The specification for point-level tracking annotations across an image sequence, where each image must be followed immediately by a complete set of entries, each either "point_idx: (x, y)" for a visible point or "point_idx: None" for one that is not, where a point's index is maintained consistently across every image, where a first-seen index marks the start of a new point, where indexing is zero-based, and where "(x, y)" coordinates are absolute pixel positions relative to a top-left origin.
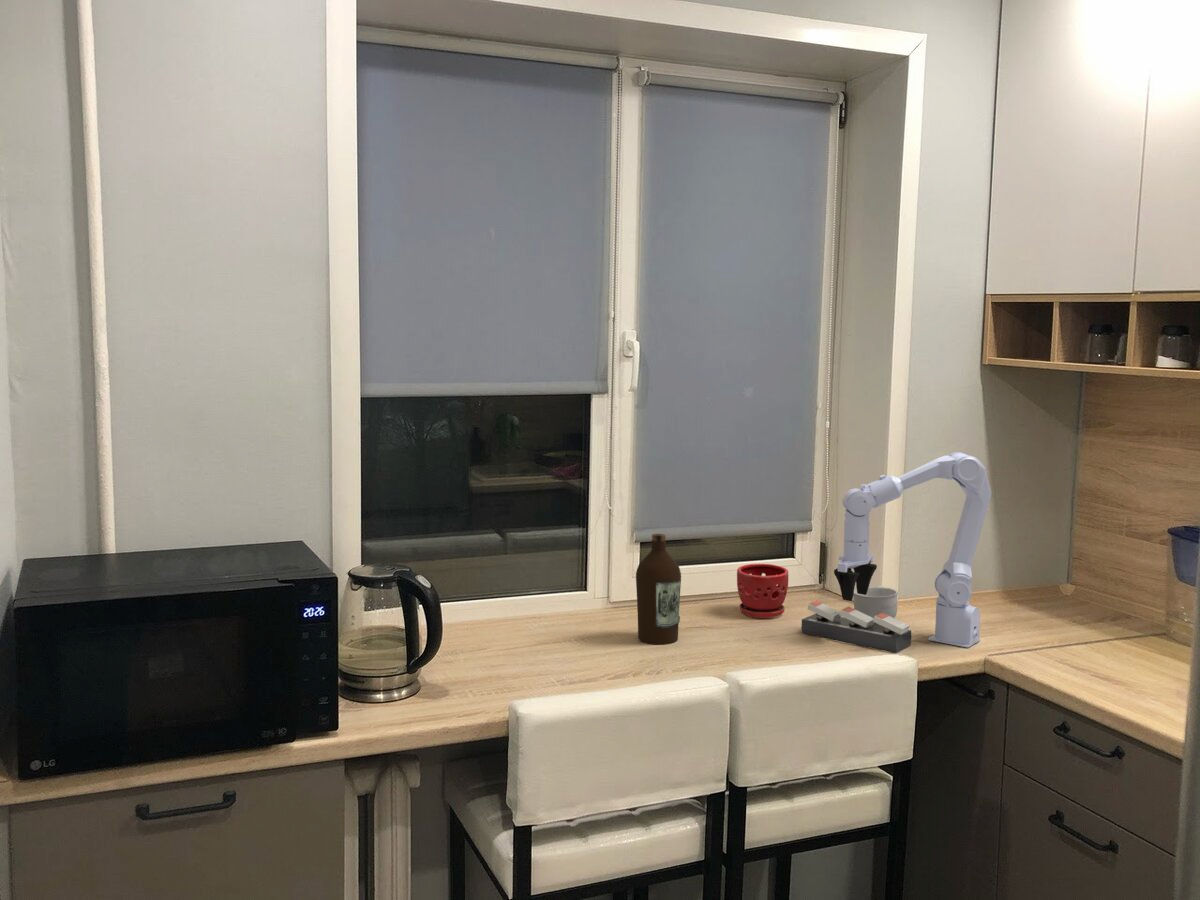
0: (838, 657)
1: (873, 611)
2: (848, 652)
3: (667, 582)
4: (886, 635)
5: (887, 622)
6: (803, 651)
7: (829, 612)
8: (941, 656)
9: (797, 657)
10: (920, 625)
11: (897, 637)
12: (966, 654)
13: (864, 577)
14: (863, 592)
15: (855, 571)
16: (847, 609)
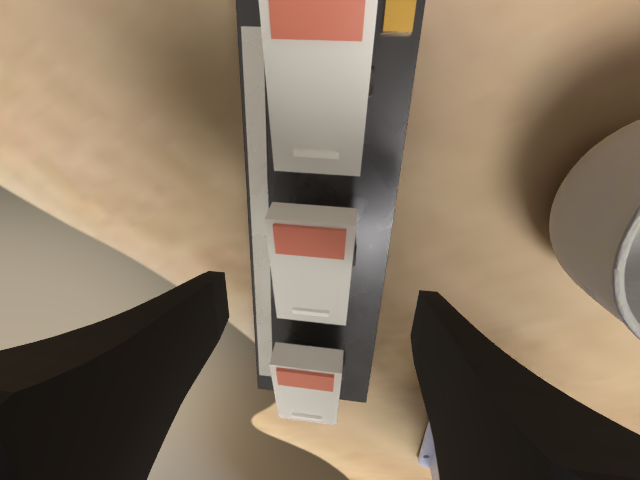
0: (126, 252)
1: (564, 246)
2: (186, 257)
3: None
4: (259, 364)
5: (274, 391)
6: (84, 141)
7: (288, 137)
8: (318, 428)
9: (25, 154)
10: (623, 340)
11: (265, 388)
12: (368, 460)
13: (446, 437)
14: (415, 334)
15: (489, 413)
16: (297, 241)
